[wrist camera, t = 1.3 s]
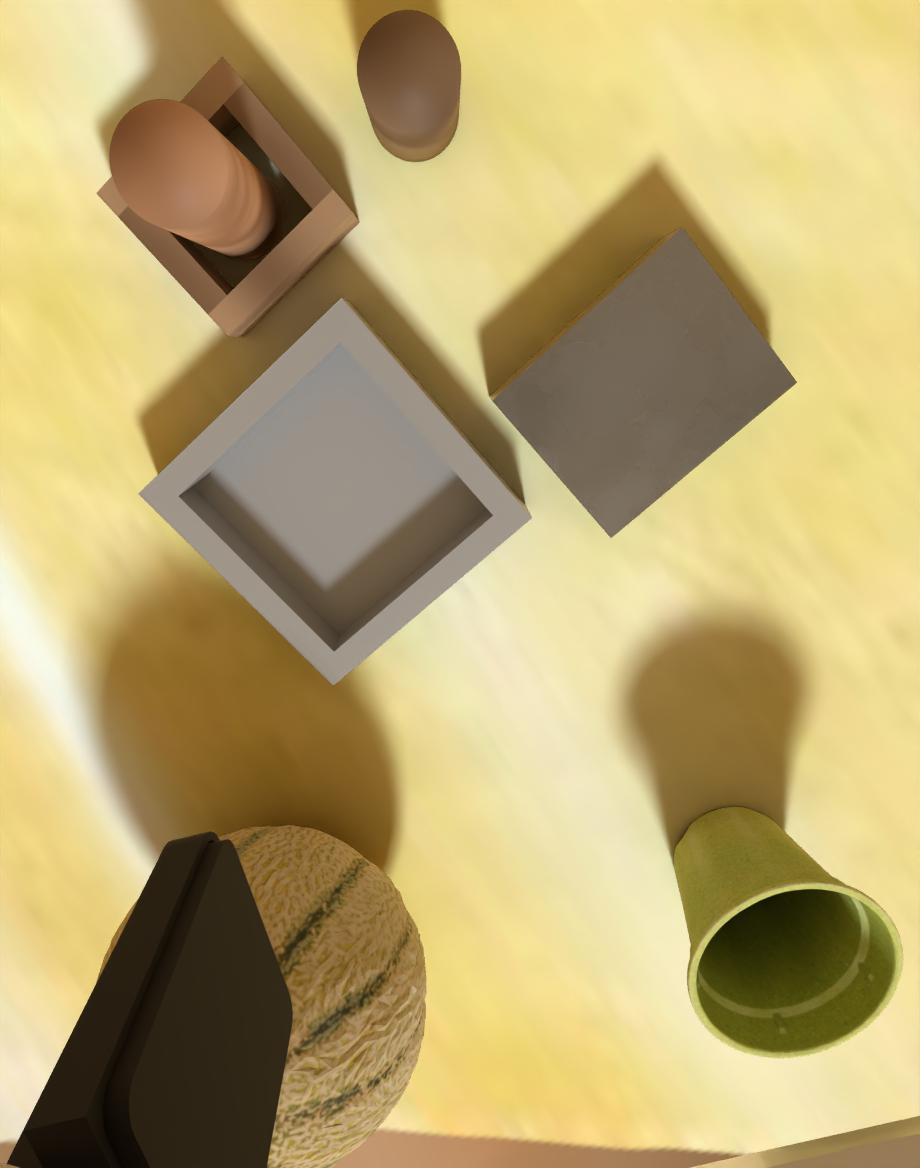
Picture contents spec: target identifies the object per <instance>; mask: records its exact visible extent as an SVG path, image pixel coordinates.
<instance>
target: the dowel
mask: <svg viewBox="0 0 920 1168" xmlns="http://www.w3.org/2000/svg"><path fill="white" fill-rule="evenodd" d="M110 168H111V173H112V177H113V180H114V183H115V186H116V188H117V190H118V192H119V194H120V195H121V197H122V198H123V200H124V201H125V203H126V204H127V205H128V206H129V207H130V208H131V209H132V210H133V211H134V212H135V213H136V214H137V215H138V216H140V217H141V218H142V219H144V220H146V221H147V222H149V223H152V224H154V225H156V226H159V227H161V228H163V229H166V230H168V231H170V232H173V233H175V234H177V235H180V236H182V237H185V238H187V239H189V240H192V241H194V242H196V243H199V244H201V245H203V246H206V247H208V248H210V249H213V250H215V251H218V252H220V253H222V254H225V255H227V256H229V257H232V258H235V259H241V260H249V259H254V258H258V257H260V256H262V255H264V254H266V253H267V252H269V251H270V250H271V249H272V248H273V247H274V246H275V245H276V243H277V242H278V240H279V238H280V236H281V234H282V231H283V227H284V218H285V215H284V207H283V202H282V199H281V197H280V194H279V192H278V191H277V189H276V187H275V186H274V185H273V183H272V182H271V181H270V180H269V179H268V178H267V177H266V176H265V175H264V174H263V173H262V172H261V171H260V170H259V169H258V168H257V167H256V166H255V165H253V164H252V163H251V162H250V161H249V160H248V159H247V158H246V157H245V156H244V155H243V154H242V153H241V152H240V151H239V150H238V149H237V148H236V147H235V146H234V145H233V144H232V143H231V142H229V141H228V140H227V139H226V138H225V137H224V136H223V135H222V134H221V133H220V132H219V131H218V130H217V129H216V128H215V127H214V126H213V125H212V124H211V123H210V122H209V121H208V120H207V119H205V118H204V117H203V116H202V115H201V114H200V113H199V112H197V111H196V110H194V109H193V108H191V107H190V106H187V105H185V104H183V103H180V102H177V101H173V100H167V99H157V100H151V101H147V102H144V103H142V104H140V105H138V106H136V107H134V108H133V109H131V110H130V111H129V112H128V113H127V114H126V115H125V116H124V117H123V118H122V120H121V121H120V122H119V124H118V126H117V128H116V130H115V132H114V134H113V137H112V141H111V146H110Z"/></svg>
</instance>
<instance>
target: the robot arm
mask: <svg viewBox="0 0 920 1168" xmlns="http://www.w3.org/2000/svg"><path fill="white" fill-rule="evenodd" d="M292 1022H293V1010H292V1002H291V997H290V993H289V990H288V988H287V985H286V982H285V980H284V977H283V974H282V972H281V969H280V966H279V964H278V961H277V958H276V956H275V953H274V950H273V948H272V945H271V942H270V940H269V937H268V934H267V932H266V929H265V926H264V923H263V921H262V918H261V915H260V913H259V910H258V907H257V905H256V902H255V899H254V897H253V894H252V891H251V889H250V886H249V883H248V881H247V878H246V875H245V873H244V870H243V867H242V865H241V862H240V859H239V857H238V854H237V851H236V849H235V847H234V844H233V843H232V842H231V840H229V839H225V840H221V841H220V839H219V838H218V836H217V835H216V834H215V833H213V832H207V833H202V834H198V835H194V836H190V837H185V838H181V839H177V840H172V841H170V842H168V843H167V844H166V846H165V847H164V849H163V851H162V853H161V855H160V857H159V859H158V861H157V863H156V865H155V867H154V869H153V871H152V873H151V875H150V877H149V879H148V881H147V883H146V885H145V887H144V889H143V891H142V893H141V895H140V897H139V899H138V901H137V903H136V905H135V907H134V909H133V911H132V913H131V915H130V917H129V919H128V921H127V923H126V925H125V927H124V929H123V931H122V933H121V935H120V937H119V939H118V941H117V943H116V945H115V947H114V949H113V951H112V953H111V955H110V957H109V959H108V961H107V963H106V965H105V967H104V969H103V971H102V973H101V975H100V977H99V979H98V981H97V983H96V985H95V987H94V989H93V991H92V993H91V995H90V997H89V999H88V1001H87V1003H86V1005H85V1007H84V1009H83V1011H82V1013H81V1015H80V1017H79V1019H78V1021H77V1023H76V1025H75V1027H74V1029H73V1032H72V1034H71V1036H70V1038H69V1040H68V1042H67V1044H66V1046H65V1048H64V1050H63V1052H62V1054H61V1056H60V1058H59V1060H58V1062H57V1064H56V1066H55V1068H54V1070H53V1072H52V1074H51V1076H50V1078H49V1080H48V1082H47V1084H46V1086H45V1088H44V1090H43V1092H42V1094H41V1096H40V1098H39V1100H38V1102H37V1104H36V1106H35V1108H34V1110H33V1112H32V1114H31V1116H30V1118H29V1120H28V1122H27V1124H26V1126H25V1128H24V1130H23V1132H22V1134H21V1136H20V1138H19V1140H18V1142H17V1144H16V1146H15V1148H14V1150H13V1152H12V1154H11V1156H10V1158H9V1160H8V1162H7V1164H5V1163H0V1168H267V1164H268V1158H269V1152H270V1147H271V1141H272V1136H273V1130H274V1124H275V1119H276V1113H277V1108H278V1102H279V1097H280V1091H281V1085H282V1080H283V1074H284V1069H285V1063H286V1058H287V1052H288V1046H289V1041H290V1035H291V1030H292ZM691 1168H920V1116H917V1117H913V1118H908V1119H904V1120H899V1121H895V1122H891V1123H886V1124H882V1125H877V1126H873V1127H868V1128H864V1129H859V1130H855V1131H851V1132H846V1133H842V1134H837V1135H833V1136H828V1137H824V1138H819V1139H815V1140H810V1141H806V1142H802V1143H797V1144H793V1145H788V1146H784V1147H779V1148H775V1149H770V1150H766V1151H761V1152H757V1153H753V1154H748V1155H744V1156H739V1157H735V1158H731V1159H726V1160H722V1161H717V1162H713V1163H709V1164H705V1165H700V1166H695V1167H691Z"/></svg>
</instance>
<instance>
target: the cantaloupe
mask: <svg viewBox="0 0 920 1168" xmlns="http://www.w3.org/2000/svg"><path fill="white" fill-rule="evenodd" d="M218 838H219V839H220V841H221V840H225V839H229V840H231V842H232V843H233V844H234V847H235V849H236V851H237V854H238V857H239V859H240V862H241V865H242V867H243V870H244V873H245V875H246V878H247V881H248V883H249V886H250V889H251V891H252V894H253V897H254V899H255V902H256V905H257V907H258V910H259V913H260V915H261V918H262V921H263V923H264V926H265V929H266V932H267V934H268V937H269V940H270V942H271V945H272V948H273V950H274V953H275V956H276V958H277V961H278V964H279V966H280V969H281V972H282V974H283V977H284V980H285V982H286V985H287V988H288V990H289V993H290V997H291V1002H292V1010H293V1022H292V1030H291V1035H290V1041H289V1046H288V1052H287V1058H286V1063H285V1069H284V1074H283V1080H282V1085H281V1091H280V1097H279V1102H278V1108H277V1113H276V1119H275V1124H274V1130H273V1136H272V1141H271V1147H270V1152H269V1158H268V1164H267V1168H331V1167H333V1166H334V1165H335V1164H336V1163H337V1162H338V1161H339V1160H341V1159H342V1158H343V1157H345V1156H346V1155H348V1154H349V1153H350V1152H351V1151H353V1150H354V1149H356V1148H357V1147H359V1146H360V1145H361V1144H362V1143H363V1142H364V1141H365V1140H366V1139H368V1138H369V1137H371V1136H372V1135H373V1134H374V1133H375V1131H376V1129H377V1128H378V1126H379V1125H380V1124H381V1123H382V1122H383V1121H384V1120H385V1119H386V1117H387V1116H388V1115H389V1113H390V1112H391V1110H392V1109H393V1108H394V1106H395V1105H396V1104H397V1102H398V1101H399V1099H400V1098H401V1096H402V1094H403V1092H404V1091H405V1089H406V1087H407V1085H408V1083H409V1080H410V1077H411V1074H412V1072H413V1070H414V1068H415V1066H416V1064H417V1061H418V1055H419V1052H420V1048H421V1041H422V1039H423V1036H424V1025H425V1018H426V1005H425V996H426V970H425V957H424V952H423V946H422V943H421V941H420V934H419V933H418V928H417V927H416V925H415V923H414V921H413V919H412V917H411V916H410V914H409V913H408V911H407V910H406V908H405V905H404V903H403V900H402V897H401V894H400V892H399V891H398V890H397V889H396V888H395V886H394V884H393V882H392V881H391V879H390V878H389V877H388V876H387V875H386V874H385V873H384V872H383V871H382V870H381V869H380V868H379V867H378V866H376V865H375V864H373V863H372V862H370V861H369V860H367V859H365V858H364V857H363V856H362V855H361V854H360V853H359V852H358V851H356V850H355V849H353V848H352V847H351V846H349V845H348V844H346V843H345V842H343V841H341V840H339V839H337V838H335V837H333V836H331V835H329V834H327V833H324V832H322V831H319V830H316V829H313V828H306V827H299V826H294V825H284V826H279V827H275V826H264V827H255V826H253V827H248V828H244V829H241V830H238V831H236V832H233V833H229V834H226V835H223V836H219V837H218ZM137 901H138V900H137ZM137 901H136V903H137ZM136 903H135V904H134V905H133V907H132V908H131V909H130V911H129V912H128V914H127V915H126V917H125V919H124V920H123V922H122V923H121V925H120V926H119V928H118V930H117V932H116V933H115V935H114V937H113V938H112V941H111V944H110V947H109V949H108V951H107V953H106V955H105V957H104V960H103V963H102V966H101V969H100V973H99V976H98V979H99V977H100V975H101V973H102V971H103V969H104V967H105V965H106V963H107V961H108V959H109V957H110V955H111V953H112V951H113V949H114V947H115V945H116V943H117V941H118V939H119V937H120V935H121V933H122V931H123V929H124V927H125V925H126V923H127V921H128V919H129V917H130V915H131V913H132V911H133V909H134V907H135V905H136ZM98 979H97V981H98Z"/></svg>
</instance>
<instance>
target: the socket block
mask: <svg viewBox="0 0 920 1168" xmlns="http://www.w3.org/2000/svg"><path fill="white" fill-rule="evenodd" d="M180 103H183V104H185V105H187V106H190V107H191V108H193V109H194V110H196V111H197V112H199V113H200V114H201V115H202V116H203V117H204V118H205V119H207V120H208V121H209V122H210V123H211V124H212V125H213V126H214V127H215V128H216V129H217V130H218V131H219V132H220V133H221V134H222V135H223V136H224V137H225V138H226V137H227V136H228V135H229V134H230V133H231V132H232V130H233V129H234V128H235V127H236V126H237V125H238V124H239V123H240V124H241V125H242V127H243V128H244V129H245V130H246V131H247V133H248V134H249V135H250V136H251V137H252V138H253V140H254V141H255V142H256V143H257V144H258V145H259V147H260V148H261V149H262V150H263V151H264V153H265V154H266V155H267V156H268V157H269V158H270V160H271V161H272V162H273V163H274V164H275V165H276V167H277V168H278V169H279V170H280V171H281V173H282V174H283V175H284V176H285V177H286V178H287V180H288V181H289V182H290V183H291V184H292V186H293V187H294V188H295V189H296V190H297V191H298V193H299V194H300V195H301V196H302V197H303V198H304V200H305V201H306V202H307V203H308V204H309V206H310V207H311V208H312V209H313V210H312V211H311V212H310V213H309V214H308V215H307V216H306V217H305V218H304V219H303V220H302V221H301V222H300V223H299V224H298V225H297V226H296V227H295V228H294V229H293V230H292V231H291V232H290V233H289V234H288V235H287V236H286V237H285V238H284V239H283V240H282V241H281V242H280V243H279V244H278V245H277V246H276V247H275V248H274V249H273V250H272V251H271V252H270V253H269V254H268V255H267V256H266V257H265V258H264V259H263V260H262V261H261V262H260V263H259V264H258V265H257V266H256V267H255V268H254V269H253V270H252V271H251V272H250V273H249V274H248V275H247V276H246V277H245V278H244V279H243V280H242V281H241V282H240V283H239V284H238V285H237V286H236V287H235V288H234V289H233V288H232V287H231V286H230V285H229V284H228V282H227V281H226V280H225V279H224V278H223V277H222V276H221V275H220V274H219V273H218V271H217V270H216V269H215V268H214V267H213V266H212V265H211V264H210V263H209V261H208V260H207V259H206V258H205V257H204V256H203V255H202V254H201V253H200V251H199V250H198V249H197V248H196V247H195V246H194V245H193V244H192V243H191V242H190V240H189V239H187V238H185V237H182V236H180V235H177V234H175V233H173V232H170V231H168V230H166V229H163V228H161V227H159V226H156V225H154V224H152V223H149V222H147V221H146V220H144V219H142V218H141V217H140V216H138V215H137V214H136V213H135V212H134V211H133V210H132V209H131V208H130V207H129V206H128V205H127V204H126V203H125V201H124V200H123V198H122V197H121V195H120V194H119V192H118V190H117V188H116V186H115V183H114V180H113V177H111V178H110V179H109V180H108V181H107V182H106V183H105V184H104V185H103V186H102V188H101V189H100V190H99V191H98V192H97V195H98V196H99V197H100V198H101V199H102V200H103V201H104V202H105V203H106V204H107V205H108V206H109V208H110V209H111V210H112V211H113V212H114V213H115V214H116V215H117V216H118V217H119V218H120V219H121V221H122V222H123V223H124V224H125V225H126V226H127V227H128V228H129V229H130V230H131V231H132V232H133V234H134V235H135V236H136V237H137V238H138V239H139V240H140V241H141V242H142V243H143V244H144V246H145V247H146V248H147V249H148V250H149V251H150V252H151V253H152V254H153V255H154V256H155V257H156V259H157V260H158V261H159V262H160V263H161V264H162V265H163V266H164V267H165V268H166V269H167V270H168V272H169V273H170V274H171V275H172V276H173V277H174V278H175V279H176V280H177V281H178V282H179V284H180V285H181V286H182V287H183V288H184V289H185V290H186V291H187V292H188V293H189V294H190V295H191V297H192V298H193V299H194V300H195V301H196V302H197V303H198V304H199V305H200V306H201V307H202V308H203V310H204V311H205V312H206V313H207V314H208V315H209V316H210V317H211V318H212V319H213V320H214V321H215V323H216V324H217V325H218V326H219V327H220V328H221V329H222V330H223V331H224V332H225V333H226V335H227V336H237V337H243V336H244V335H246V334H247V333H248V332H249V331H250V330H251V329H252V328H253V327H254V326H255V325H256V324H257V323H258V322H259V321H260V320H261V319H262V318H263V317H264V316H265V315H266V314H267V313H268V312H269V311H270V310H271V309H272V308H273V307H274V306H275V305H276V304H277V303H278V302H279V301H280V300H281V299H282V298H283V297H284V296H285V295H286V294H287V293H288V292H289V291H290V290H291V289H292V288H293V287H294V286H295V285H296V284H297V283H298V282H299V281H300V280H301V279H302V278H303V277H304V276H305V275H306V274H307V273H308V272H310V271H311V270H312V269H313V268H314V267H315V266H316V265H317V264H318V263H319V262H320V261H321V260H322V259H323V258H324V257H325V256H326V255H327V254H328V253H329V252H330V251H331V250H332V249H333V248H334V247H335V246H336V245H337V244H338V243H339V242H340V241H341V240H342V239H343V238H344V237H345V236H346V235H347V234H348V233H349V232H350V231H351V230H352V229H353V228H354V227H355V226H356V225H357V224H358V223H359V221H358V219H357V218H356V217H355V215H354V214H353V212H352V211H351V210H350V209H349V207H348V206H347V205H346V204H345V203H344V201H343V200H342V199H341V198H340V197H339V195H338V194H337V193H336V192H335V191H334V189H333V188H332V187H331V186H330V185H329V183H328V182H327V181H326V180H325V179H324V177H323V176H322V175H321V174H320V173H319V171H318V170H317V169H316V168H315V167H314V166H313V164H312V163H311V162H310V161H309V160H308V158H307V157H306V156H305V155H304V154H303V152H302V151H301V150H300V149H299V148H298V146H297V145H296V144H295V143H294V142H293V140H292V139H291V138H290V137H289V136H288V134H287V133H286V132H285V131H284V130H283V128H282V127H281V126H280V125H279V124H278V122H277V121H276V120H275V119H274V118H273V116H272V115H271V114H270V113H269V112H268V110H267V109H266V108H265V107H264V106H263V104H262V103H261V102H260V101H259V100H258V98H257V97H256V96H255V95H254V94H253V93H252V91H251V90H250V89H249V88H248V87H247V85H246V84H245V83H244V82H243V81H242V79H241V78H240V77H239V76H238V75H237V73H236V72H235V71H234V70H233V69H232V67H231V66H230V65H229V64H228V63H227V61H226V60H225V59H224V58H223V57H221V59H220V60H219V61H218V62H217V63H216V64H215V65H214V66H213V67H212V68H211V69H210V70H209V72H208V73H207V74H206V75H205V76H204V77H203V78H202V79H201V80H200V81H199V82H198V84H197V85H196V86H195V87H194V88H193V89H192V90H191V91H190V92H189V93H188V94H187V95H186V97H185V98H184V99H183V100H182V101H181V102H180Z"/></svg>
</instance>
